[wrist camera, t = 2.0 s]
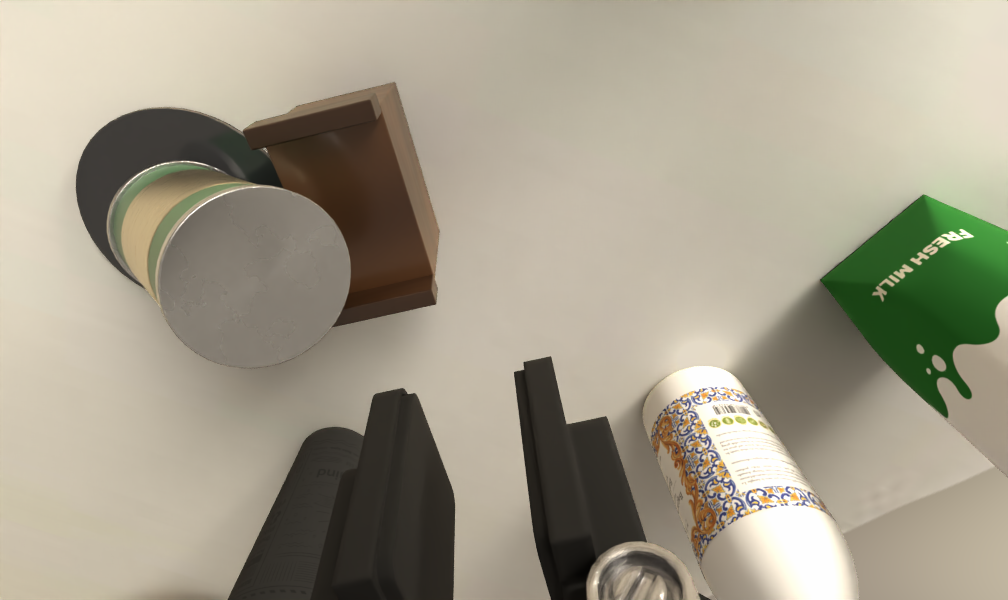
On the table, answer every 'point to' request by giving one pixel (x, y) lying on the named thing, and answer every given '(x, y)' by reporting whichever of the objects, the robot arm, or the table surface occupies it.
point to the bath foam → (743, 494)
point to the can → (231, 261)
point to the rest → (362, 193)
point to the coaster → (159, 159)
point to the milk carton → (938, 314)
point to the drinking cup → (299, 520)
